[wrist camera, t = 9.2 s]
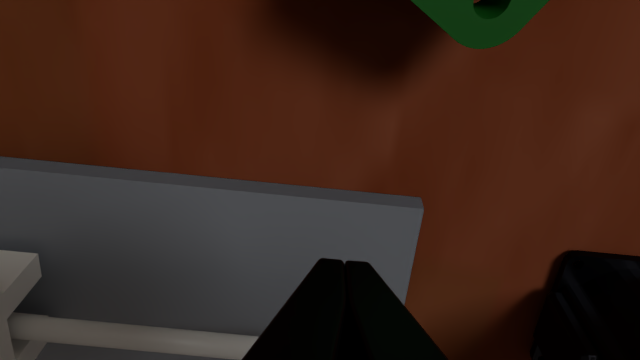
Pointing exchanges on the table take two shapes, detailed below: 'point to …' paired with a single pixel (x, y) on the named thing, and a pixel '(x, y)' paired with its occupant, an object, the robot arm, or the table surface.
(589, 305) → the robot arm
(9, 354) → the stepped pale block
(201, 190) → the flat grey panel
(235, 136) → the table surface
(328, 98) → the table surface
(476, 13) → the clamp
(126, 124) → the table surface
